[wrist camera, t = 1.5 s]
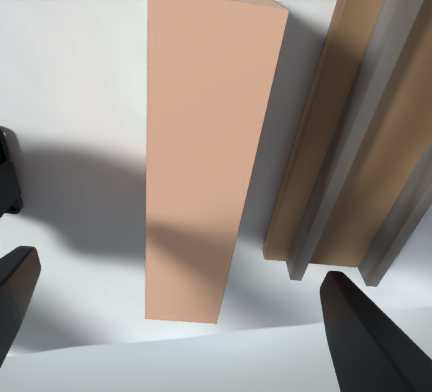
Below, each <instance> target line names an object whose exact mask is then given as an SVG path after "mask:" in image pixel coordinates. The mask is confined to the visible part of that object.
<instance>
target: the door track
mask: <svg viewBox="0 0 432 392" xmlns="http://www.w3.org/2000/svg"><path fill="white" fill-rule="evenodd" d="M431 203H432V0H337V3H336V6H335V10H334V13H333V16H332V19H331V23H330V26H329V29H328V33H327V36H326V39H325V43H324V46H323V49H322V53H321V56H320V59H319V62H318V66H317V69H316V72H315V76H314V79H313V82H312V86H311V89H310V92H309V95H308V99H307V102H306V105H305V109H304V112H303V115H302V119H301V122H300V125H299V129H298V132H297V135H296V138H295V142H294V145H293V148H292V152H291V155H290V158H289V162H288V165H287V168H286V171H285V175H284V178H283V181H282V185H281V188H280V191H279V195H278V198H277V201H276V205H275V208H274V211H273V214H272V218H271V221H270V224H269V228H268V231H267V234H266V238H265V241H264V244H263V247H262V249H263V255H264V259H266V260H278V261H286V264H287V268H288V272H289V276H290V280H300V281H301V280H302V278H303V275H304V273H305V271H306V268H307V266H308V264H309V263H313V264H325V265H336V266H348V267H358V269H359V271H360V274H361V276H362V278H363V280H364V282H365V284H366V286H374V287H377V285H378V284H379V282H380V281H381V279H382V278H383V276H384V275H385V273H386V272H387V270H388V269H389V267H390V266H391V264H392V263H393V261H394V259H395V258H396V256H397V255H398V253H399V252H400V250H401V249H402V247H403V246H404V244H405V243H406V241H407V240H408V238H409V237H410V235H411V234H412V232H413V230H414V229H415V227H416V226H417V224H418V223H419V221H420V220H421V218H422V217H423V215H424V214H425V212H426V211H427V209H428V208H429V206H430V205H431Z"/></svg>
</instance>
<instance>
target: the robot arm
mask: <svg viewBox="0 0 432 392" xmlns="http://www.w3.org/2000/svg"><path fill="white" fill-rule="evenodd" d="M20 194H21V191H20V188H19V184H18V180H17V177H16V173H15V169H14V165H13V163H12V161H11V160H10V156H9V153H8V149H7V145H6V142H5V138H4V134H3V132H2V130H1V129H0V218H1V217H2V215H3V214H4V213H10V214H17V213H19V212H20V211H21V210H22V208H23V204H22V200H21V197H20ZM13 206H15V207H13ZM40 271H41V264H40V260H39V257H38V253H37V250H36V248H35V247H31V246H19V247H17V248H16V249H14V250H13V251H11V252H10V253H8V254H7V255H5V256H4V257H2V258H1V259H0V368H1V365H2V363H3V361H4V359H5V357H6V355H7V353H8V351H9V349H10V347H11V345H12V343H13V341H14V339H15V337H16V335H17V333H18V331H19V328H20V326H21V324H22V322H23V319H24V317H25V314H26V311H27V309H28V306H29V303H30V300H31V297H32V295H33V292H34V289H35V286H36V283H37V280H38V278H39V275H40ZM320 298H321V305H322V311H323V318H324V324H325V331H326V336H327V341H328V346H329V350H330V353H331V357H332V361H333V365H334V368H335V372H336V376H337V380H338V383H339V387H340V391H341V392H432V359H431V358H429V357H428V356H427V355H426V354H425V353H424V352H423V351H422V350H421V349H420V348H419V347H418V346H417V345H416V344H415V343H414V342H413V341H412V340H411V339H410V338H409V337H408V336H407V335H406V334H405V333H404V332H403V331H402V330H401V329H400V328H399V327H398V326H397V325H396V324H395V323H394V322H393V321H392V320H391V319H390V318H389V317H388V316H387V315H386V314H385V313H384V312H383V311H382V310H381V309H380V308H379V307H378V306H377V305H376V304H375V303H374V302H373V301H372V300H371V299H370V298H368V297H367V296H366V295H365V294H364V293H363V292H362V291H361V290H360V289H359V288H358V287H357V286H356V285H355V284H354V283H353V282H352V281H351V280H350V279H349V278H348V277H347V276H346V275H345V274H344V273H343V272H340V271H329V272H328V273H327V275H326V277H325V279H324V281H323V283H322V285H321V287H320Z"/></svg>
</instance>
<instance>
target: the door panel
mask: <svg viewBox="0 0 432 392" xmlns="http://www.w3.org/2000/svg"><path fill="white" fill-rule="evenodd" d="M288 13H289V10H288V9H286V8H285V7H283V6H281V5H280V4H278V3H276V2H274V1H273V0H148V18H147V144H146V270H145V319H153V320H168V321H183V322H199V323H214V324H217V320H218V316H219V311H220V307H221V303H222V298H223V294H224V290H225V285H226V281H227V277H228V272H229V268H230V264H231V259H232V255H233V251H234V246H235V242H236V238H237V233H238V229H239V225H240V220H241V216H242V212H243V208H244V203H245V199H246V195H247V190H248V186H249V182H250V177H251V173H252V169H253V164H254V160H255V156H256V151H257V147H258V143H259V138H260V134H261V130H262V125H263V121H264V117H265V112H266V108H267V104H268V100H269V95H270V91H271V87H272V82H273V78H274V74H275V69H276V65H277V61H278V56H279V52H280V48H281V43H282V39H283V35H284V30H285V26H286V22H287V17H288Z"/></svg>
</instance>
